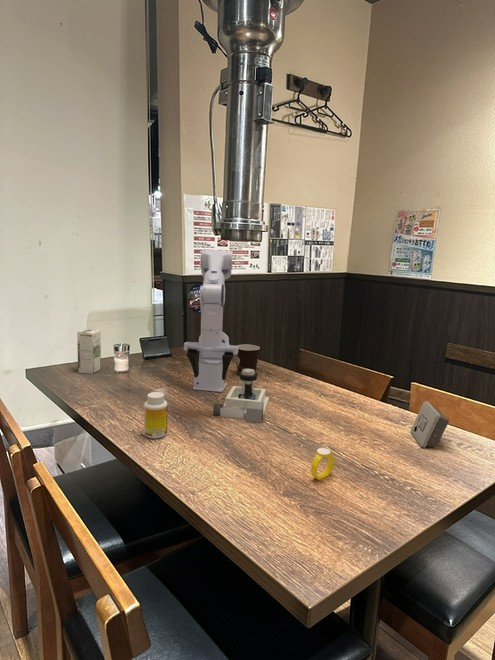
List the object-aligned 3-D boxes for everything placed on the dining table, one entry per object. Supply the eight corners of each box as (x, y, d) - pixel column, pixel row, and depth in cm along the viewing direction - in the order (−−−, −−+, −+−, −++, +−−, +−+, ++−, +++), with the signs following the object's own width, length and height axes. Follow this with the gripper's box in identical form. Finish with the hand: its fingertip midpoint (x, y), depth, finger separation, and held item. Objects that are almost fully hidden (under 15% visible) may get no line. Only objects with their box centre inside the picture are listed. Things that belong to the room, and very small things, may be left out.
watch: (318, 485, 87) (319, 459, 86) (307, 479, 89) (308, 453, 88) (336, 474, 91) (337, 448, 90) (325, 468, 93) (326, 443, 92)
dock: (216, 418, 117) (216, 404, 116) (230, 394, 135) (230, 383, 134) (260, 423, 115) (261, 409, 114) (268, 398, 133) (269, 386, 132)
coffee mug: (258, 378, 152) (259, 350, 150) (234, 377, 152) (235, 349, 150) (258, 368, 164) (259, 343, 162) (235, 367, 164) (236, 342, 162)
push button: (255, 398, 131) (256, 366, 129) (263, 404, 127) (264, 371, 125) (235, 401, 128) (236, 368, 126) (242, 407, 124) (243, 373, 122)
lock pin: (212, 415, 118) (212, 406, 118) (214, 412, 121) (214, 403, 120) (242, 419, 117) (243, 410, 116) (244, 415, 120) (244, 406, 119)
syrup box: (86, 368, 155) (84, 328, 152) (101, 369, 154) (100, 329, 151) (77, 373, 149) (76, 331, 146) (93, 374, 148) (92, 333, 145)
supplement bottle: (170, 437, 104) (170, 397, 102) (147, 441, 102) (146, 399, 100) (163, 428, 109) (164, 389, 107) (141, 431, 107) (141, 392, 105)
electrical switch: (409, 432, 114) (417, 399, 112) (429, 435, 114) (437, 402, 112) (421, 449, 105) (430, 413, 103) (442, 452, 104) (452, 417, 102)
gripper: (180, 329, 113) (180, 379, 115) (235, 333, 111) (233, 384, 113) (188, 324, 119) (187, 371, 122) (240, 328, 117) (238, 376, 120)
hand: (210, 377), depth 118 cm, fingers open, 7 cm apart
